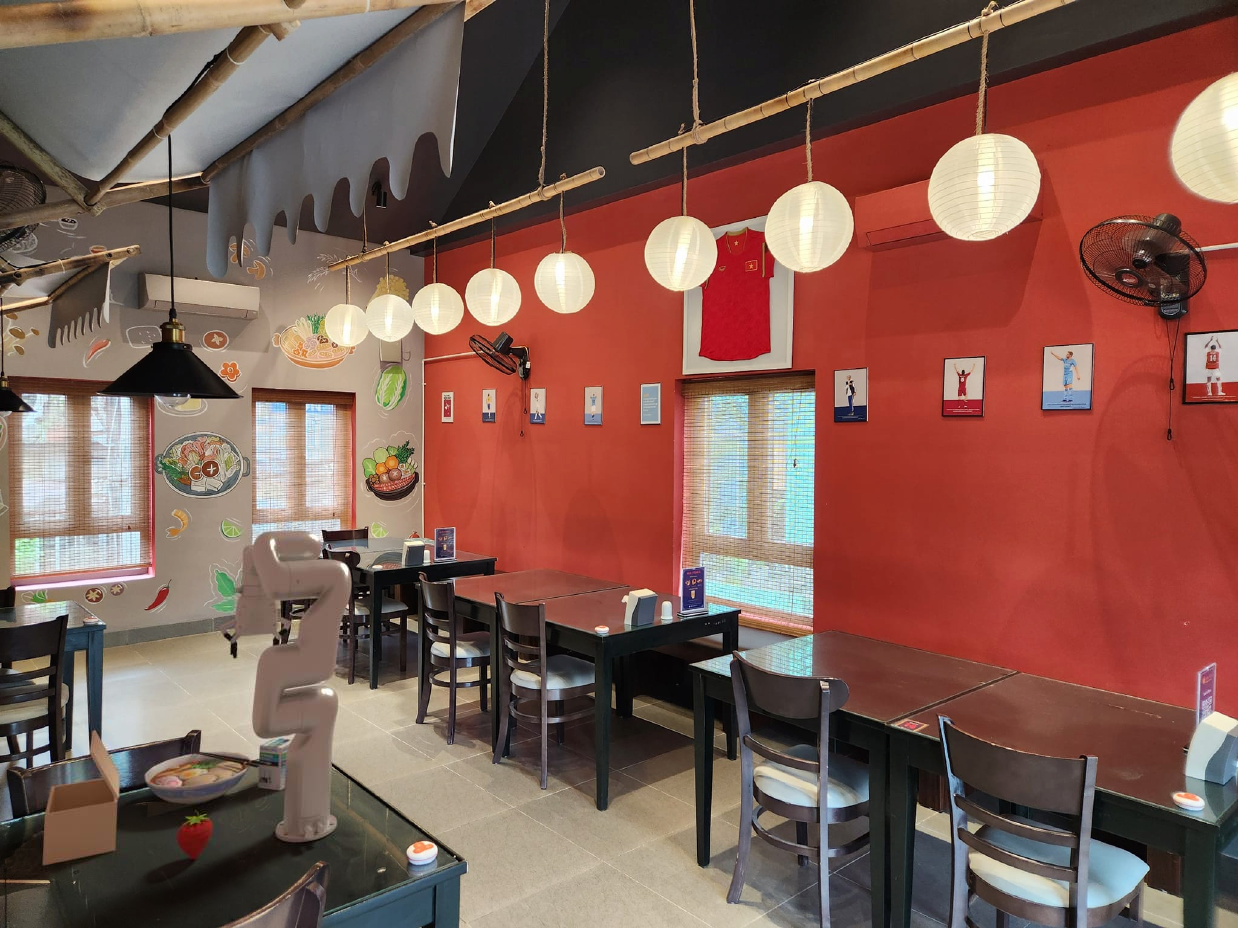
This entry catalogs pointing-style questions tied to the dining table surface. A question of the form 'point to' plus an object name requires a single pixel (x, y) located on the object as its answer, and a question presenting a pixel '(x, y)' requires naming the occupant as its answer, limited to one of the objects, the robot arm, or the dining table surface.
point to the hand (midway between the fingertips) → (255, 655)
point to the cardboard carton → (79, 821)
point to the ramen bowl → (198, 776)
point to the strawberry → (194, 835)
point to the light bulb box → (273, 762)
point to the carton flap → (105, 764)
